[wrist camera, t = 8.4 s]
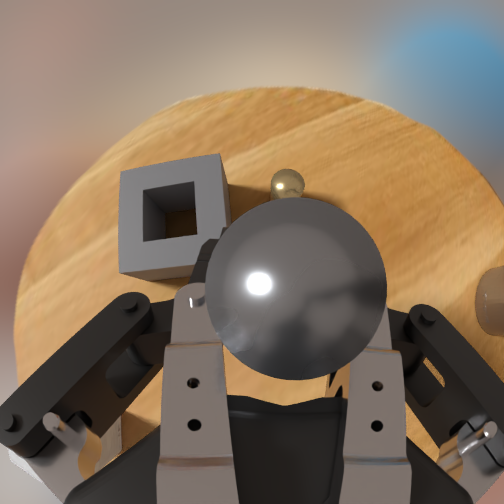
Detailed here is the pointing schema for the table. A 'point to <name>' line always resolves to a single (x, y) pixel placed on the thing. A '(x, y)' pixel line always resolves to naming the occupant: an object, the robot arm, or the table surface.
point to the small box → (109, 451)
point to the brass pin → (286, 184)
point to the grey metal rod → (295, 288)
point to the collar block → (165, 201)
